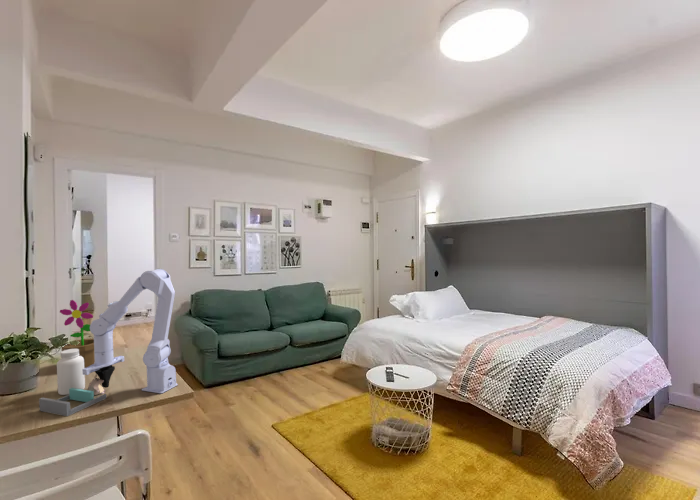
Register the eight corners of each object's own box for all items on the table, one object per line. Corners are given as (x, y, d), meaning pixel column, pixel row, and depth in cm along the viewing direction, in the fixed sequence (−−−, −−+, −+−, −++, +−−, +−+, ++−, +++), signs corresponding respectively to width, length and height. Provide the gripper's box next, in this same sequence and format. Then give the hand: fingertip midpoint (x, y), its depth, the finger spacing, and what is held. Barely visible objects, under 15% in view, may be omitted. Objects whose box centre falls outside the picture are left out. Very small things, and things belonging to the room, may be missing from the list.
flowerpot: (55, 373, 149) (52, 301, 148) (73, 361, 163) (70, 296, 162) (94, 370, 152) (91, 300, 151) (108, 359, 166) (106, 294, 165)
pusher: (94, 401, 122) (93, 391, 122) (91, 403, 121) (90, 392, 121) (72, 397, 125) (72, 387, 125) (69, 399, 125) (69, 389, 124)
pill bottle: (55, 397, 126) (53, 355, 126) (61, 389, 134) (59, 349, 133) (83, 392, 130) (81, 351, 130) (87, 384, 137) (85, 346, 137)
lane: (106, 398, 125) (105, 387, 125) (67, 416, 113) (66, 403, 113) (80, 393, 129) (79, 382, 129) (39, 410, 117) (39, 398, 117)
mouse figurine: (80, 392, 130) (79, 374, 129) (106, 388, 133) (105, 371, 132) (75, 399, 125) (74, 380, 125) (103, 394, 128) (102, 376, 128)
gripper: (114, 343, 139) (115, 378, 140) (75, 355, 125) (77, 393, 126) (128, 345, 137) (129, 380, 138) (90, 357, 123) (91, 396, 124)
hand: (105, 387), depth 132 cm, fingers closed, pressing on mouse figurine
